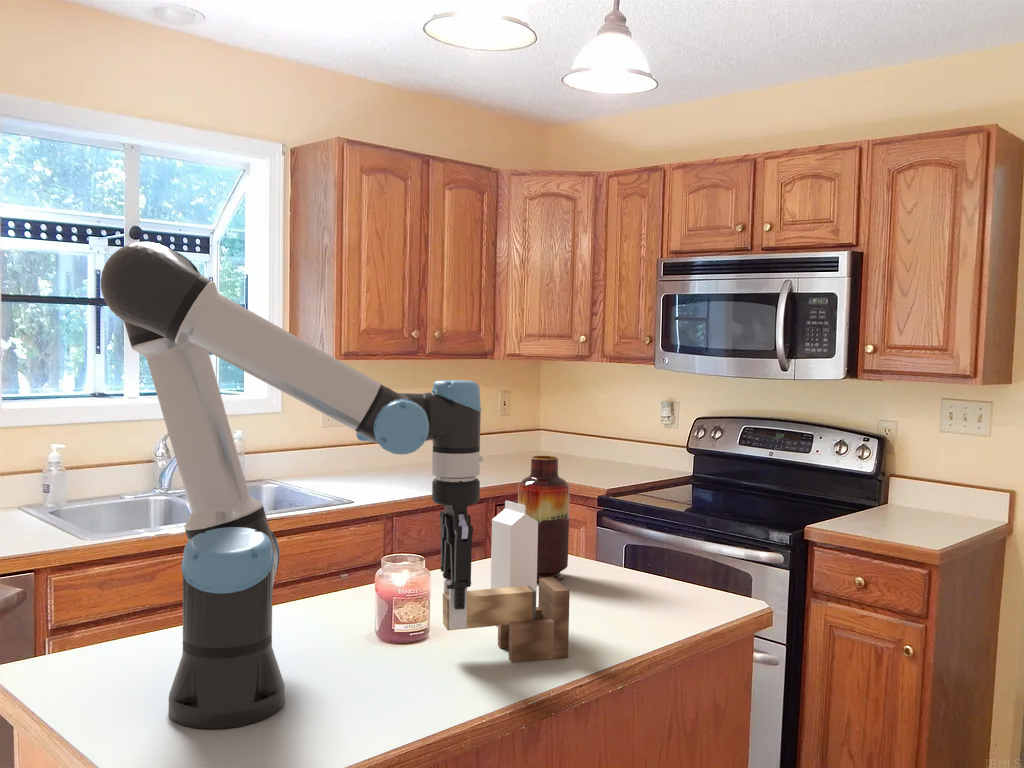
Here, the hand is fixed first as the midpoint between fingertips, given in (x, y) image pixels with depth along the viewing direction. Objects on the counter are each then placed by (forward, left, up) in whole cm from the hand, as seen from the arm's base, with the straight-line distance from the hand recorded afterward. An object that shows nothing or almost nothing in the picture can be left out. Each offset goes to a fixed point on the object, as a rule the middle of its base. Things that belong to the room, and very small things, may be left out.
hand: (454, 623), depth 141 cm
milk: (+14, +14, -6) cm, 21 cm away
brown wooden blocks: (+13, 0, -6) cm, 14 cm away
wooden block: (+5, 0, 0) cm, 5 cm away
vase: (+29, +43, -6) cm, 52 cm away
